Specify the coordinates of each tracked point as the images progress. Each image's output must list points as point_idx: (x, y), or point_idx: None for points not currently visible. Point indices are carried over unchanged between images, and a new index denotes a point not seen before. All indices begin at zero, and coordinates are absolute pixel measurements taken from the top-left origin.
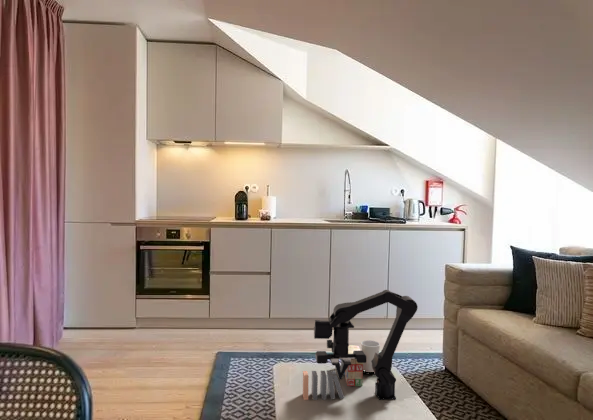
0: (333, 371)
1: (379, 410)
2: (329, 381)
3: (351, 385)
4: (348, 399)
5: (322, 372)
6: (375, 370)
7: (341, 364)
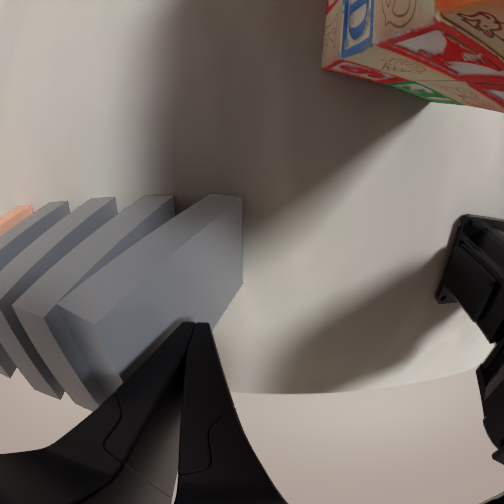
0: (85, 336)
1: (376, 371)
2: None
3: (357, 76)
4: (271, 286)
5: (3, 338)
6: (491, 439)
7: (185, 493)
